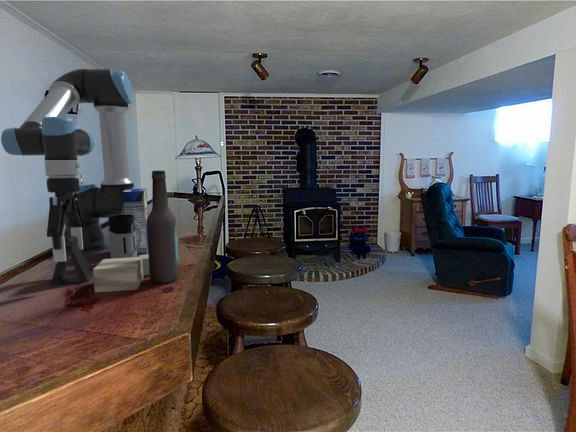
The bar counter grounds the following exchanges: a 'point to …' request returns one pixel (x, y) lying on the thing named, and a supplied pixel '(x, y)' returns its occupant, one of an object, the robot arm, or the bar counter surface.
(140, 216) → the beverage box
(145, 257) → the sage cube
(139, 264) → the maple block
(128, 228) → the grey black handled cylinder
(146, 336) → the bar counter surface
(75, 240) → the phone stand
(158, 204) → the beer bottle
